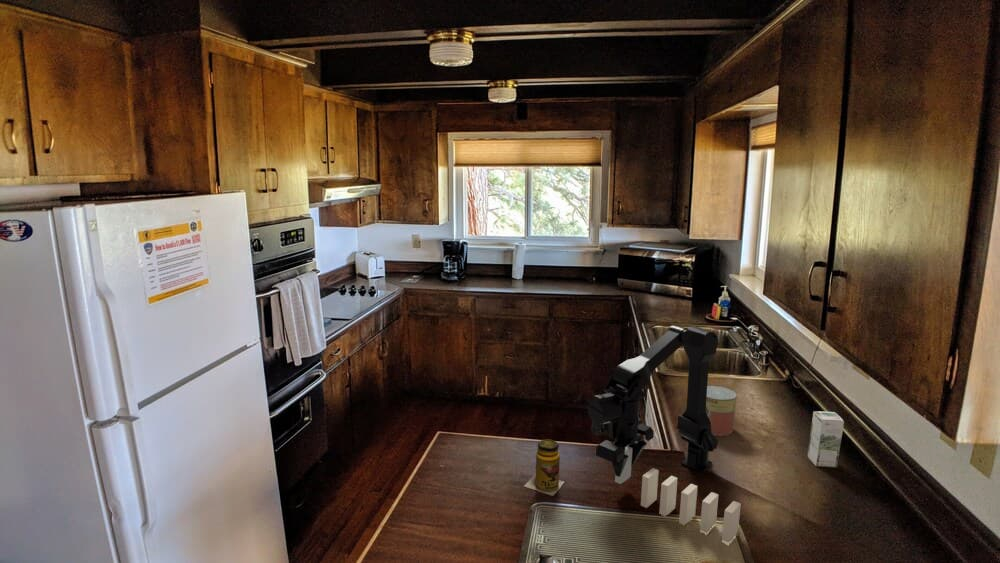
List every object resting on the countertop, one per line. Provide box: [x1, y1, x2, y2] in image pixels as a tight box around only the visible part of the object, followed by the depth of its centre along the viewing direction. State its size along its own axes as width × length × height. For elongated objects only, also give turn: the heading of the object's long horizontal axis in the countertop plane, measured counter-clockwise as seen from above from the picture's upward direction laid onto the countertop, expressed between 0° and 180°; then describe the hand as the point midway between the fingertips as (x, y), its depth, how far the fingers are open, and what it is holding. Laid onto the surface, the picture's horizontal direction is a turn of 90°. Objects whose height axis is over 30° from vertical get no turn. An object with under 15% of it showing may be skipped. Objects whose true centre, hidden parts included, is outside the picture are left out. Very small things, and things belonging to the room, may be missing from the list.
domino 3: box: [658, 475, 679, 517], centre depth 134 cm, size 5×2×8 cm, turn 136°
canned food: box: [706, 385, 738, 437], centre depth 178 cm, size 11×11×12 cm
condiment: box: [523, 438, 565, 497], centre depth 144 cm, size 7×8×12 cm
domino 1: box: [614, 446, 632, 485], centre depth 142 cm, size 5×2×8 cm, turn 136°
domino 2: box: [640, 467, 659, 509], centre depth 137 cm, size 5×2×8 cm, turn 136°
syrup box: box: [807, 410, 845, 468], centre depth 157 cm, size 6×6×14 cm
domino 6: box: [721, 500, 742, 542], centre depth 124 cm, size 5×2×8 cm, turn 136°
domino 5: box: [699, 491, 720, 533], centre depth 127 cm, size 5×2×8 cm, turn 136°
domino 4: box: [678, 483, 699, 524], centre depth 131 cm, size 5×2×8 cm, turn 136°
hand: (623, 472), depth 142 cm, fingers closed on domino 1, 5 cm apart
